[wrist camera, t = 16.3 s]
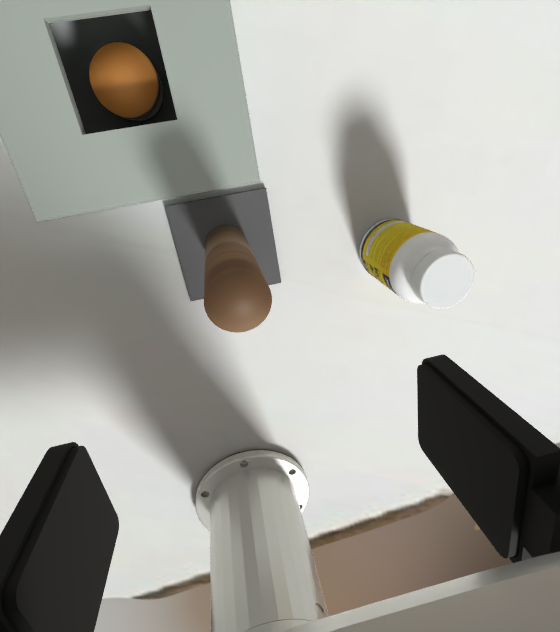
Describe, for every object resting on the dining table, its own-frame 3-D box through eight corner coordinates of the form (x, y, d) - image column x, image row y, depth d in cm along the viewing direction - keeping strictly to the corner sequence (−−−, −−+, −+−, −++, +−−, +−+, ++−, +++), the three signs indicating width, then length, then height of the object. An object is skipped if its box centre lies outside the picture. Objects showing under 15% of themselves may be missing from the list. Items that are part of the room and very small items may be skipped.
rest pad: (280, 281, 34) (281, 282, 34) (190, 299, 33) (190, 301, 33) (265, 187, 31) (265, 188, 30) (165, 206, 30) (165, 206, 29)
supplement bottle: (346, 261, 34) (394, 298, 25) (380, 206, 33) (444, 225, 24) (391, 286, 36) (451, 330, 27) (425, 236, 35) (500, 264, 26)
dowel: (251, 262, 32) (276, 324, 21) (210, 270, 32) (212, 338, 20) (243, 221, 31) (266, 262, 19) (200, 229, 31) (196, 276, 19)
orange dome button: (169, 116, 27) (165, 112, 25) (113, 125, 27) (102, 122, 24) (153, 50, 26) (147, 37, 23) (93, 58, 25) (79, 46, 22)
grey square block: (250, 177, 30) (260, 181, 25) (68, 209, 29) (36, 222, 23) (210, -53, 24) (210, -113, 19) (-20, -26, 23) (-90, -82, 18)
